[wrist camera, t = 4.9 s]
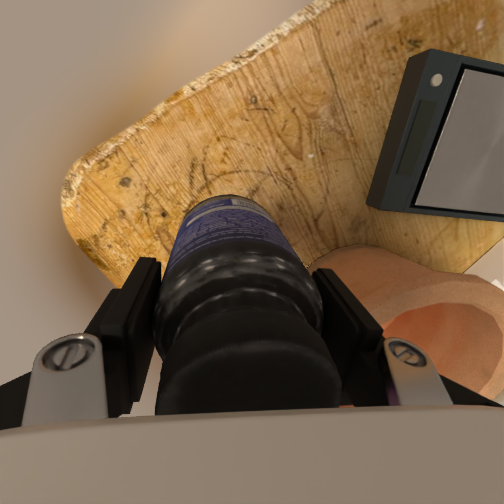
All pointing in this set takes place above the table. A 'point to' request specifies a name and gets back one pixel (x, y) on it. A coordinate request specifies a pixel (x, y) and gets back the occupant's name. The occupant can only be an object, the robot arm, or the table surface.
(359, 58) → the table surface
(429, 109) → the scale
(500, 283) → the block with arch cutout
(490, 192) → the scale pan
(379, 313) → the pottery
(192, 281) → the pill bottle
